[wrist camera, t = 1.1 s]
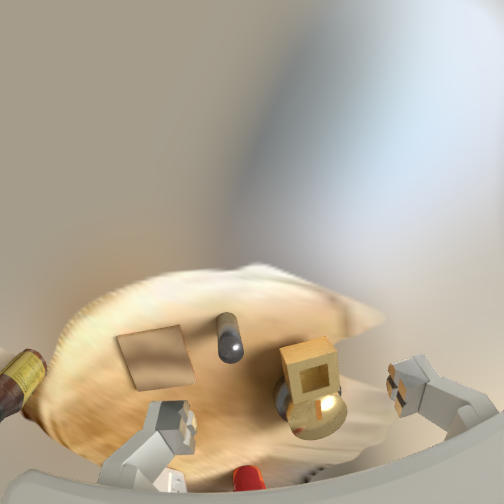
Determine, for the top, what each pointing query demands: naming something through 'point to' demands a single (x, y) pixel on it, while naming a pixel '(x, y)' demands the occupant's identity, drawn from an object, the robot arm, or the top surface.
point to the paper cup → (247, 479)
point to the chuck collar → (312, 389)
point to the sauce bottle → (20, 381)
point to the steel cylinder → (229, 338)
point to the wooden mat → (157, 358)
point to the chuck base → (283, 396)
